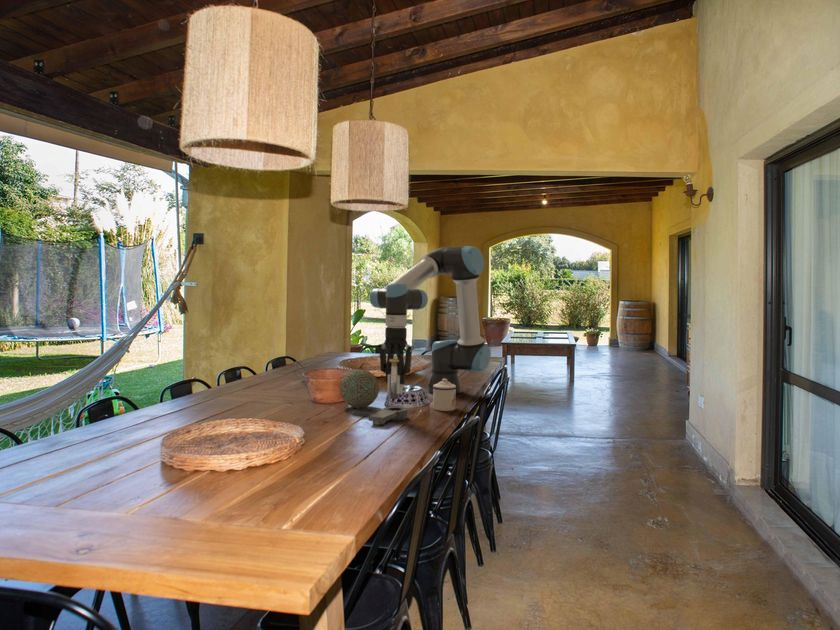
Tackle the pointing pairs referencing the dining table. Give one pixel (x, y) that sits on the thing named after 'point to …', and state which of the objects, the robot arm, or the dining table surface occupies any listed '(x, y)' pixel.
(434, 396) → the beige lidded jar
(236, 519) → the dining table surface
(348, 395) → the decorative sphere
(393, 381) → the pin
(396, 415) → the grey flat angular block
